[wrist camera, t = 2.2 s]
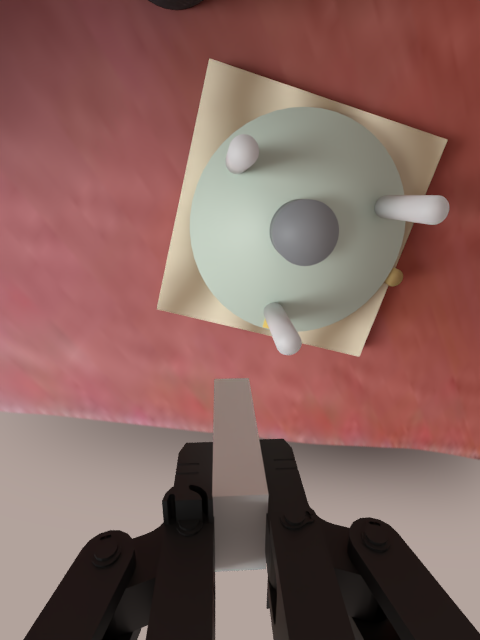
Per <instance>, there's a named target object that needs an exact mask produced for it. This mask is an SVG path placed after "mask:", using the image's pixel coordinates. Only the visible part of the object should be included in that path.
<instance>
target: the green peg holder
mask: <svg viewBox="0 0 480 640" xmlns="http://www.w3.org/2000/svg"><path fill="white" fill-rule="evenodd" d="M448 212H449V203H448V201H447V199H446V198H445V197H443V196H440V195H404V190H403V185H402V182H401V179H400V175H399V172H398V170H397V168H396V166H395V164H394V161H393V159H392V158H391V156H390V155H389V153H388V151H387V150H386V148H385V147H384V146H383V145H382V143H381V142H380V141H379V140H378V139H377V138H376V137H375V135H373V134H372V133H371V132H370V131H369V130H368V129H366V128H365V127H364V126H363V125H361V124H359V123H358V122H356V121H355V120H353V119H351V118H349V117H347V116H345V115H342V114H340V113H338V112H335V111H331V110H327V109H323V108H314V107H292V108H286V109H281V110H276V111H273V112H270V113H268V114H265V115H262V116H260V117H258V118H256V119H254V120H252V121H250V122H248V123H247V124H245V125H244V126H242V127H241V128H240V129H238V130H237V131H235V132H234V133H233V134H232V135H231V136H230V137H229V138H228V139H226V140H225V141H224V142H223V143H222V144H221V145H220V147H219V148H218V149H217V151H216V152H215V153H214V154H213V156H212V157H211V158H210V160H209V162H208V163H207V165H206V167H205V168H204V170H203V172H202V174H201V177H200V179H199V181H198V184H197V186H196V190H195V193H194V197H193V200H192V206H191V213H190V238H191V246H192V251H193V255H194V259H195V262H196V264H197V267H198V270H199V272H200V274H201V276H202V278H203V280H204V282H205V284H206V285H207V287H208V288H209V289H210V291H211V292H212V294H213V295H214V296H215V297H216V298H217V299H218V300H219V301H220V303H221V304H222V305H223V306H225V307H226V308H227V309H228V310H229V311H231V312H232V313H233V314H235V315H236V316H238V317H240V318H241V319H243V320H245V321H247V322H249V323H251V324H253V325H256V326H259V327H262V328H265V329H269V330H270V332H271V334H272V337H273V339H274V342H275V344H276V347H277V349H278V351H279V352H280V353H282V354H284V355H292V354H295V353H296V352H298V350H299V349H300V348H301V345H302V340H301V337H300V336H299V334H298V332H301V331H309V330H314V329H319V328H322V327H325V326H328V325H331V324H333V323H335V322H337V321H340V320H342V319H344V318H345V317H347V316H349V315H350V314H352V313H353V312H355V311H356V310H357V309H359V308H360V307H361V306H362V305H364V304H365V303H366V302H367V301H368V300H369V299H370V298H371V297H372V296H373V295H374V294H375V293H376V292H377V290H378V289H379V288H380V287H381V285H382V284H383V283H384V281H385V280H386V278H387V277H388V275H389V273H390V272H391V270H392V268H393V266H394V264H395V262H396V259H397V257H398V254H399V251H400V248H401V245H402V241H403V236H404V231H405V221H408V222H415V223H422V224H429V225H436V224H439V223H441V222H442V221H443V220H444V219H445V218H446V217H447V215H448Z"/></svg>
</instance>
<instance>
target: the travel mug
mask: <svg viewBox="0 0 480 640" xmlns="http://www.w3.org/2000/svg"><path fill="white" fill-rule="evenodd" d="M149 1H150V2H152V3H154V4H155V5H157V6H160V7H163V8H166V9H172V10H180V9H186V8H190V7H192V6H194V5H197V4H198V3H200V2H201V1H203V0H149Z"/></svg>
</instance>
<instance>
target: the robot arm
mask: <svg viewBox="0 0 480 640" xmlns="http://www.w3.org/2000/svg"><path fill="white" fill-rule="evenodd" d="M162 505H163V517H164V523H163V524H162V525H161V526H160V527H158V528H157V529H155V530H154V531H152V532H150V533H147V534H145V535H142V536H139V537H136V538H133V539H132V538H131V537H130V536H129V535H128V534H127V533H125V532H122V531H120V530H116V531H115V530H113V531H112V530H110V531H107V532H104V533H101V534H99V535H97V536H95V537H94V538H93V539H91V540H90V541H89V542H88V543H87V544H86V545H85V546H84V547H83V549H82V550H81V552H80V553H79V555H78V556H77V558H76V559H75V561H74V562H73V564H72V565H71V567H70V568H69V570H68V572H67V573H66V575H65V576H64V578H63V580H62V581H61V582H60V584H59V586H58V587H57V589H56V590H55V592H54V593H53V595H52V597H51V598H50V600H49V601H48V603H47V604H46V606H45V607H44V609H43V610H42V612H41V613H40V615H39V617H38V618H37V619H36V621H35V623H34V624H33V626H32V627H31V629H30V630H29V632H28V633H27V635H26V636H25V638H24V640H137V638H138V636H139V633H140V631H141V628H142V627H144V626H147V625H148V629H147V636H146V640H215V572H219V571H239V570H258V569H266V563H267V572H268V589H267V609H268V608H270V614H271V622H272V630H273V639H274V640H480V634H479V632H478V631H477V630H476V629H475V627H474V626H473V625H472V624H471V623H470V621H469V620H468V619H467V618H466V616H465V615H464V614H463V613H462V611H460V609H459V608H458V607H457V605H456V604H455V603H454V602H453V600H452V599H451V598H450V597H449V595H448V594H447V593H446V592H445V591H444V589H443V588H442V587H441V586H440V585H439V583H438V582H437V581H436V580H435V578H434V577H433V576H432V575H431V573H430V572H429V571H428V570H427V568H426V567H425V566H424V565H423V563H422V562H421V561H420V560H419V559H418V557H417V556H416V555H415V554H414V552H413V551H412V550H411V549H410V548H409V546H408V545H407V544H406V543H405V541H404V540H403V539H402V538H401V536H400V535H399V534H398V533H397V532H396V531H395V530H394V529H393V528H392V527H391V526H390V525H388V524H386V523H385V522H383V521H381V520H378V519H373V518H360V519H358V520H356V521H354V522H353V524H352V525H351V527H350V528H347V527H343V526H339V525H334V524H332V523H329V522H326V521H325V520H323V519H321V518H319V517H318V516H317V515H316V513H315V512H314V510H312V509H311V508H310V506H309V504H308V502H307V498H306V495H305V491H304V488H303V485H302V481H301V478H300V474H299V471H298V469H297V464H296V461H295V457H294V454H293V451H292V448H291V447H290V446H289V444H288V443H287V442H286V441H285V440H284V439H263V440H259V436H258V430H257V424H256V418H255V412H254V406H253V400H252V394H251V388H250V383H249V378H235V379H214V426H213V442H202V443H186V444H185V445H184V447H183V448H182V449H181V451H180V452H179V456H178V462H177V469H176V475H175V482H174V487H172V488H171V489H170V490H169V491H168V492H167V493H166V494H165V496H164V498H163V500H162Z"/></svg>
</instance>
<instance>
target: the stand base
mask: <svg viewBox="0 0 480 640" xmlns="http://www.w3.org/2000/svg"><path fill="white" fill-rule="evenodd" d="M292 107H314V108H323V109H327V110H331V111H335V112H338V113H340V114H342V115H345V116H347V117H349V118H351V119H353V120H355V121H356V122H358V123H359V124H361V125H363V126H364V127H365V128H366V129H368V130H369V131H370V132H371V133H372V134H373V135H375V137H376V138H377V139H378V140H379V141H380V142H381V143H382V145H383V146H384V147H385V148H386V150H387V151H388V153H389V155H390V156H391V158H392V159H393V161H394V164H395V166H396V168H397V170H398V172H399V175H400V179H401V182H402V185H403V190H404V195H425V194H426V192H427V189H428V187H429V185H430V182H431V180H432V177H433V175H434V172H435V170H436V167H437V165H438V162H439V160H440V158H441V155H442V153H443V150H444V148H445V145H446V143H447V139H444V138H441V137H438V136H435V135H433V134H430V133H427V132H424V131H421V130H418V129H415V128H412V127H409V126H406V125H403V124H400V123H397V122H395V121H392V120H389V119H386V118H383V117H380V116H377V115H374V114H371V113H368V112H365V111H362V110H359V109H356V108H354V107H351V106H348V105H345V104H342V103H339V102H336V101H333V100H330V99H327V98H324V97H321V96H318V95H315V94H313V93H310V92H307V91H304V90H301V89H298V88H295V87H292V86H289V85H286V84H283V83H280V82H277V81H274V80H272V79H269V78H266V77H263V76H260V75H257V74H254V73H251V72H248V71H245V70H242V69H239V68H236V67H233V66H231V65H228V64H225V63H222V62H219V61H216V60H213V59H210V58H209V62H208V67H207V72H206V77H205V81H204V86H203V91H202V96H201V100H200V105H199V110H198V115H197V119H196V124H195V129H194V134H193V138H192V143H191V148H190V153H189V157H188V162H187V167H186V172H185V177H184V181H183V186H182V191H181V196H180V200H179V205H178V210H177V215H176V219H175V224H174V229H173V234H172V238H171V243H170V248H169V253H168V257H167V262H166V267H165V272H164V277H163V281H162V286H161V291H160V296H159V300H158V305H157V309H158V310H163V311H167V312H171V313H175V314H180V315H184V316H188V317H192V318H197V319H201V320H205V321H209V322H214V323H218V324H222V325H226V326H231V327H235V328H239V329H244V330H248V331H252V332H256V333H261V334H265V335H269V336H272V334H271V332H270V330H269V329H265V328H262V327H259V326H256V325H253V324H251V323H249V322H247V321H245V320H243V319H241V318H240V317H238V316H236V315H235V314H233V313H232V312H231V311H229V310H228V309H227V308H226V307H225V306H223V305H222V304H221V303H220V301H219V300H218V299H217V298H216V297H215V296H214V295H213V294H212V292H211V291H210V289H209V288H208V287H207V285H206V284H205V282H204V280H203V278H202V276H201V274H200V272H199V270H198V267H197V264H196V262H195V259H194V255H193V251H192V246H191V238H190V213H191V206H192V200H193V197H194V193H195V190H196V186H197V184H198V181H199V179H200V177H201V174H202V172H203V170H204V168H205V167H206V165H207V163H208V162H209V160H210V158H211V157H212V156H213V154H214V153H215V152H216V151H217V149H218V148H219V147H220V145H221V144H222V143H223V142H224V141H225V140H226V139H228V138H229V137H230V136H231V135H232V134H233V133H234V132H235V131H237V130H238V129H240V128H241V127H242V126H244V125H245V124H247V123H248V122H250V121H252V120H254V119H256V118H258V117H260V116H262V115H265V114H268V113H270V112H273V111H276V110H281V109H286V108H292ZM413 224H414V222H408V221H405V231H404V236H403V241H402V245H401V248H400V251H399V254H398V257H397V259H396V262H395V264H394V266H393V268H392V270H391V272H390V273H389V275H388V277H387V278H386V280H385V281H384V283H383V284H382V285H381V287H380V288H379V289H378V290H377V292H376V293H375V294H374V295H373V296H372V297H371V298H370V299H369V300H368V301H367V302H366V303H365V304H364V305H362V306H361V307H360V308H359V309H357V310H356V311H355V312H353V313H352V314H350V315H349V316H347V317H345V318H344V319H342V320H340V321H337V322H335V323H333V324H331V325H328V326H325V327H322V328H319V329H314V330H309V331H301V332H298V334H299V336H300V337H301V340H302V343H303V344H308V345H312V346H316V347H320V348H325V349H329V350H333V351H337V352H342V353H346V354H350V355H354V356H360V354H361V351H362V349H363V347H364V344H365V342H366V339H367V337H368V334H369V332H370V329H371V327H372V324H373V322H374V320H375V317H376V315H377V312H378V310H379V307H380V305H381V302H382V300H383V297H384V295H385V293H386V290H387V288H388V285H389V286H397V285H399V284H400V283H401V281H402V279H403V273H402V272H401V271H400V270H399V269H396V266H397V263H398V261H399V258H400V256H401V253H402V251H403V248H404V246H405V243H406V241H407V239H408V236H409V234H410V231H411V229H412V226H413Z"/></svg>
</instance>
